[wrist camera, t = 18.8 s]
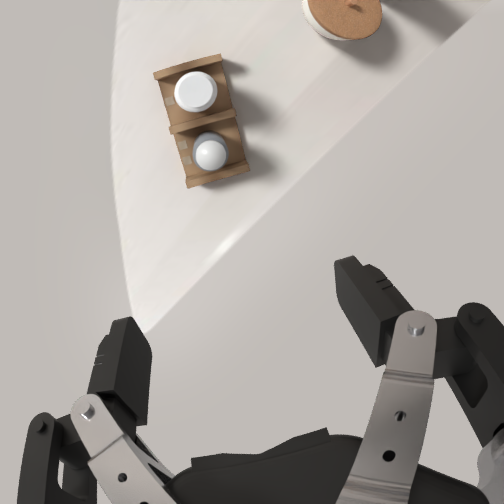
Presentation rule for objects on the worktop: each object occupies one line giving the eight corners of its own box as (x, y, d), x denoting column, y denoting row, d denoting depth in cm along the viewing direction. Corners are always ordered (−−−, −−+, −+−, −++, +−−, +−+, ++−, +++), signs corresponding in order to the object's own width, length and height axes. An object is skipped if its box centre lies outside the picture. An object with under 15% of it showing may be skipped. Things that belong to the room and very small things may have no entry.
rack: (218, 57, 37) (220, 53, 33) (246, 164, 45) (250, 170, 42) (157, 74, 37) (152, 72, 33) (188, 180, 45) (187, 188, 42)
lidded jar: (366, 9, 35) (398, -2, 26) (342, 57, 39) (372, 52, 31) (308, -25, 31) (332, -46, 23) (281, 24, 35) (300, 9, 27)
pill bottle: (209, 114, 40) (211, 118, 32) (173, 106, 38) (166, 109, 31) (219, 79, 38) (224, 75, 30) (183, 71, 36) (178, 65, 29)
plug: (227, 155, 43) (233, 167, 36) (198, 163, 43) (198, 177, 36) (220, 126, 41) (224, 133, 34) (190, 135, 41) (187, 143, 34)
